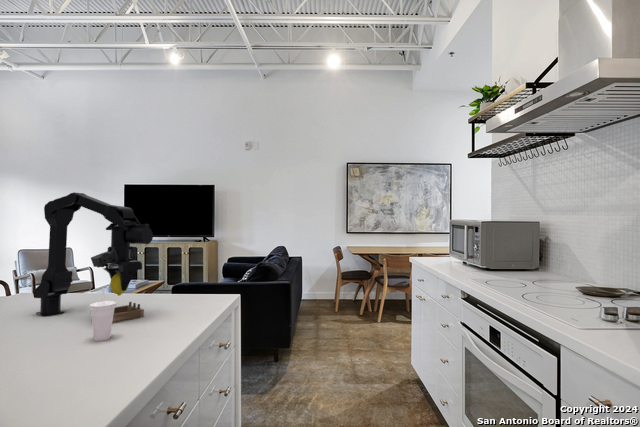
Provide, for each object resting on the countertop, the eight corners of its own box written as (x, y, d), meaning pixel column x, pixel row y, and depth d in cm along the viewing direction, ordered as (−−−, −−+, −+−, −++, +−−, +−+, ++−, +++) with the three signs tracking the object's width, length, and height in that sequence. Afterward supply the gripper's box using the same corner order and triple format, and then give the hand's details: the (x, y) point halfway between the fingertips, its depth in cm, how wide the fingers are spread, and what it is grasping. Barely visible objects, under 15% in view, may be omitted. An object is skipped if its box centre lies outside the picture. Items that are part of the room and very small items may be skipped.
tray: (94, 318, 118) (94, 306, 118) (128, 311, 127) (128, 300, 127) (109, 324, 111) (109, 311, 111) (143, 316, 120) (143, 305, 120)
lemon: (120, 297, 116) (120, 273, 116) (105, 296, 117) (106, 272, 117) (132, 294, 121) (132, 271, 122) (118, 293, 123) (119, 270, 123)
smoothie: (86, 343, 93) (88, 290, 93) (89, 336, 99) (91, 286, 99) (114, 340, 96) (116, 288, 96) (116, 333, 102) (117, 285, 102)
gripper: (82, 243, 119) (81, 289, 118) (107, 245, 108) (106, 297, 107) (117, 242, 128) (116, 285, 127) (143, 244, 117) (142, 291, 116)
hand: (119, 289), depth 119 cm, fingers closed on lemon, 5 cm apart
